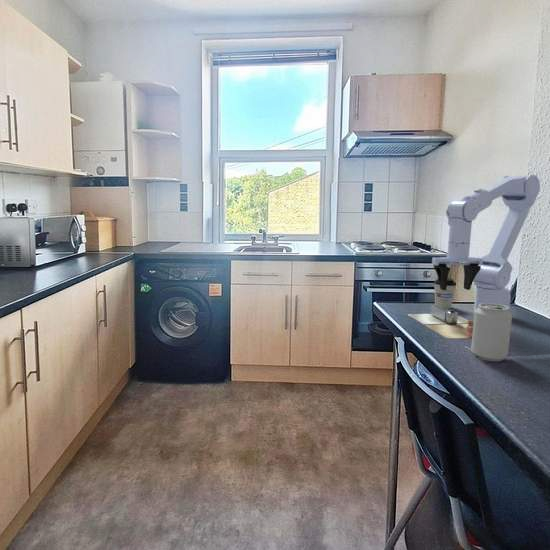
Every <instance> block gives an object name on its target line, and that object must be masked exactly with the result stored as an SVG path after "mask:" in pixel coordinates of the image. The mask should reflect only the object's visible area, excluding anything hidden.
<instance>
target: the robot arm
mask: <svg viewBox="0 0 550 550" xmlns="http://www.w3.org/2000/svg"><path fill="white" fill-rule="evenodd" d="M473 191H474V192H472V193H471V194H468V195H465V196H463V198H462V199H459V200H458V199H457V200H455V199H454V200H453V201H452V202H450V203H449V205H448V206H447V209H446V210H445V214H446V215H445V216H446V218H447V221H448V222H447V224H448V226H449V229H448V230H449V231H448V241H447V242H448V243H447V244H448V245H447V254H446V255H447V256H444V257H443V256H442V257H441V256H440V257H432V259H431V264H432V265H433V268H434V271H435V272H436V276H437V278H438V279H439V284H440V289H442V290H446V288H447V278H449V274H450V271H451V267H449V266H453V265H454V266H456V265H457V266H459V265H460V266H461V265H463V266H462V267H463V275H464V277H463V289H464V290H467V291H470V290H471V287H472V284H473V285H474V286H475V296H474V305H473V312H474V313H475V310H476V309H477V308H479V304H481V303H495V304H501V305H505V306H507V307H509V308H510V306H511V299H512V296H511V292H510V289H508V288H507V287H506V286H508V285H509V283H510V281H511V275H512V271H513V265H511V263H510V262H509V260H508V259H509V256H510V255H511V252H512V250H513V248H514V246H515V244H516V242H517V239H518V237H519V235H520V232H521V231H522V228H523V226H524V224H525V221H526V219H527V217H528V215H529V213H530V211H531V207H533V206H534V204H535V202H536V200H537V197H538V195H539V194H540V192H541V183H540V179H539V176H537V175H536V174H530V175H505V176H503V177H501V178H499V179H498V181H497V182H496V183H494V184H493V185H491V186H490V187H488V188H487V189H483V188H476V189H474V190H473ZM500 197H501V199H502V201H503V204H504V206H506V207H508V212H507V214H506V216H505V218H504V221H503V223H502V225H501V227H500V229H499V232H498V233H497V236H496V238H495V240H494V242H493V244H492V247H491V249H490V250H489V252H488V254H485V255H484V256H482V257H472V256H471V257H470V247H471V237H472V228H473V227H472V225H473V221H475V219H477V216H478V214H479V213H480V212H483V211H484V210H486V209H487V208H490V206H491V205H492V204H493V201H494V200H497V199H498V198H500ZM510 309H511V308H510Z"/></svg>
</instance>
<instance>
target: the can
mask: <svg viewBox="0 0 550 550" xmlns="http://www.w3.org/2000/svg"><path fill="white" fill-rule="evenodd" d="M510 309H511V308H509V307H507V306H505V305H501V304H495V303H481V304H479V308H477V309H476V310H475V312H474V315H473V321H474V325H473V335H472V338H471V345H470V346H471V347H470V351H471V353H472V354H474V355H476V356H475V357H476V358H478V359H480V360H483V361H488V362H502V361H503V360H505V359H506V358H508V356H509V348H510V347H509V346H510V338H511V330H512V322H513V321H512V319H513V314H512V313H511V312H510Z"/></svg>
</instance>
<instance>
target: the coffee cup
mask: <svg viewBox="0 0 550 550" xmlns="http://www.w3.org/2000/svg"><path fill="white" fill-rule="evenodd" d="M433 285H434V286H433V288H434V305H440V306H442V307H444V308H446V309H449V310H450V309H451V308H452V304H453V299H454V296H455V291H456V286H457V285H458V284H457V282H456V281H454V279H453V278H450V277H448V278H447V288H446V290H442V289H440V284H439V279H438V277H437V279H435V280H434V281H433Z"/></svg>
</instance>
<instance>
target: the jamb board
mask: <svg viewBox="0 0 550 550" xmlns="http://www.w3.org/2000/svg"><path fill="white" fill-rule="evenodd" d="M449 310H450V312H453V313H454V312H456V309H449ZM406 315H408V316H409V317H410V318H412V319H414V320H416V321H417V322H418V323H421V324H423V325H424V326H425V327H428V328H429V329H431V330H432V331H434V332H435V333H437V334H438V335H440V336H442V337H444V338H445V339H446V340H447V339H448V340H449V339H472V335H473V325H474V320H468V319H467V318H464V317H462V316H459V315H458V320H457V324H447V323H446V322H444V321H443V320H441V319H439V318H437V317H435V316H433V315H431V313H408V314H407V313H406Z"/></svg>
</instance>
